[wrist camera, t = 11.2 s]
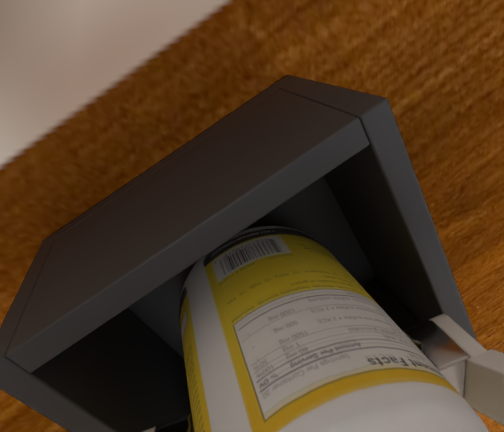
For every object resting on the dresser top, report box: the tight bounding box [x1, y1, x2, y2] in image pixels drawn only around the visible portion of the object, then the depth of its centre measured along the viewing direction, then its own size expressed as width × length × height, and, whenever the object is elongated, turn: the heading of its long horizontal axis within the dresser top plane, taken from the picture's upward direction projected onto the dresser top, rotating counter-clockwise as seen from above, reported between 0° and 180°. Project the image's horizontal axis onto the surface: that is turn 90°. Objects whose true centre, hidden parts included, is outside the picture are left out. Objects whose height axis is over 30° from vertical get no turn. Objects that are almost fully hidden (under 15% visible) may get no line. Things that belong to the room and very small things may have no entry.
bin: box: [0, 75, 478, 432], centre depth 15 cm, size 12×12×7 cm
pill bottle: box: [179, 226, 489, 432], centre depth 10 cm, size 6×6×12 cm
